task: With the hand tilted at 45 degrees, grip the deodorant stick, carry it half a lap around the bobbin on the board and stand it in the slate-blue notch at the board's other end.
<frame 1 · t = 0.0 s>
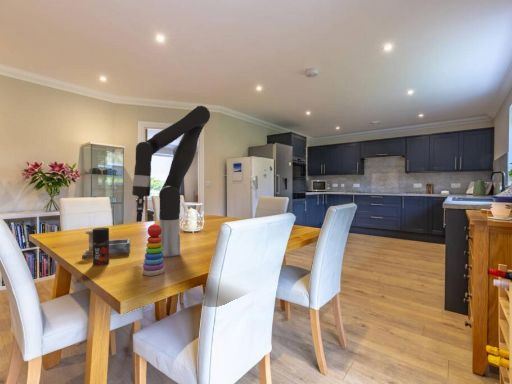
hand: (139, 220, 118), 17 cm above the table, tool pointing down, fingers open, 8 cm apart
stacking toy: (153, 273, 98), on the table
deodorant: (101, 264, 108), on the table
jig: (107, 253, 125), on the table
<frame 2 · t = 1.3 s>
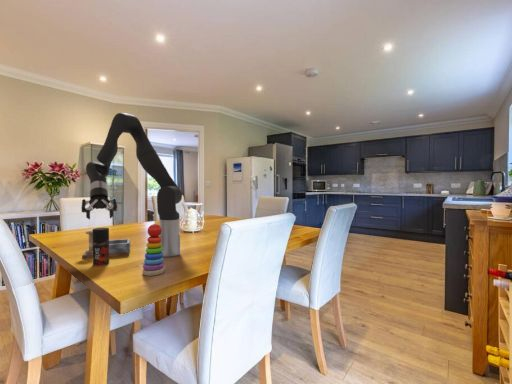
hand: (100, 217, 118), 18 cm above the table, tool tilted 45°, fingers open, 8 cm apart
nothing on the table moved.
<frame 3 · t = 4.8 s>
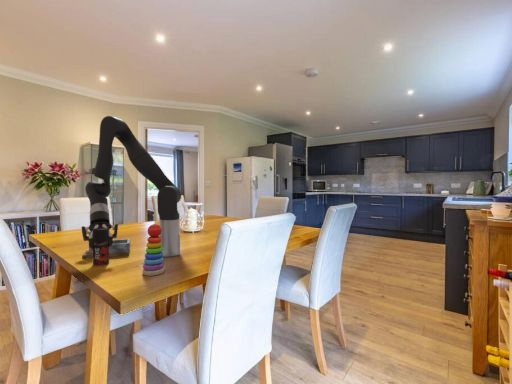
hand: (101, 246, 107), 8 cm above the table, tool tilted 45°, fingers closed on deodorant, 6 cm apart
deodorant: (101, 264, 108), on the table, touching gripper
everything else where it was.
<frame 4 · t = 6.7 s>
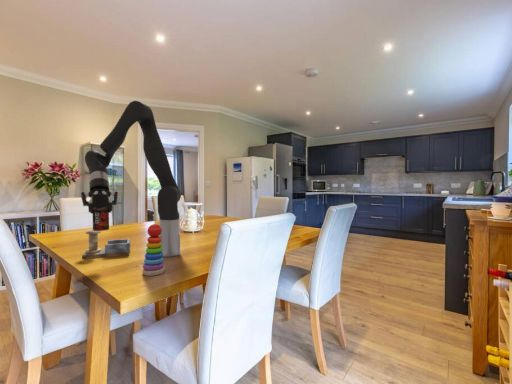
hand: (101, 211, 107), 22 cm above the table, tool tilted 45°, fingers closed on deodorant, 6 cm apart
deodorant: (101, 230, 108), point 14 cm above the table, touching gripper
everything else where it was.
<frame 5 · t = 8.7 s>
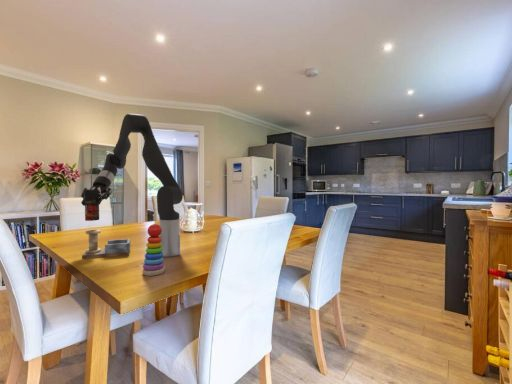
hand: (89, 204, 125), 24 cm above the table, tool tilted 45°, fingers closed on deodorant, 6 cm apart
deodorant: (92, 220, 127), point 16 cm above the table, touching gripper
everything else where it was.
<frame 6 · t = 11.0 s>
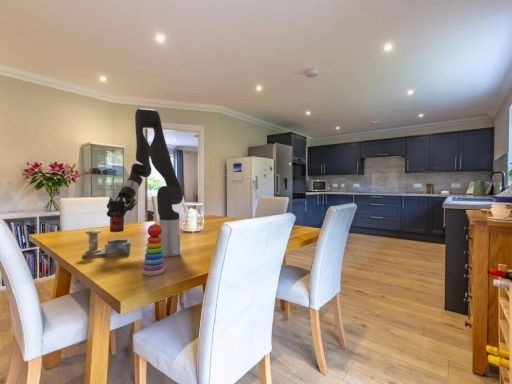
hand: (114, 215, 124), 19 cm above the table, tool tilted 45°, fingers closed on deodorant, 6 cm apart
deodorant: (116, 231, 126), point 11 cm above the table, touching gripper
everything else where it was.
when the fingers open (11 cm above the table, at t = 12.9 s): deodorant drops 1 cm, resting on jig.
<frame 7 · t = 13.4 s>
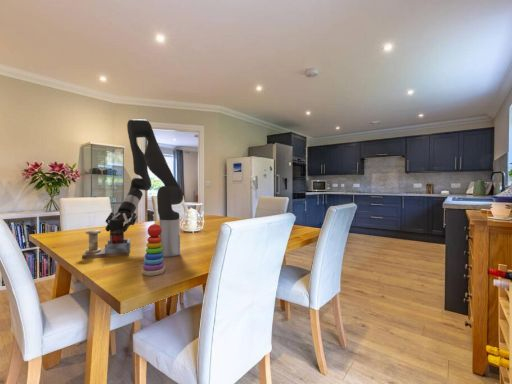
hand: (115, 230, 125), 11 cm above the table, tool tilted 45°, fingers open, 8 cm apart
deodorant: (117, 250, 126), point 1 cm above the table, touching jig
everything else where it was.
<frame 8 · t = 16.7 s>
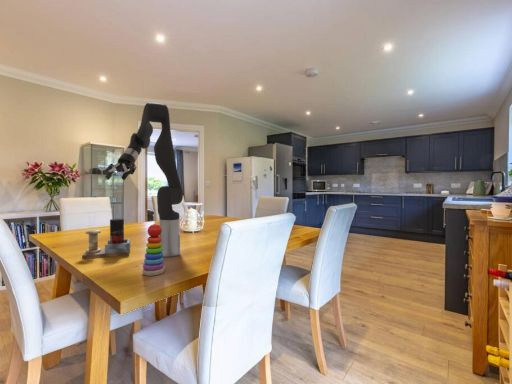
hand: (114, 178, 129), 37 cm above the table, tool tilted 45°, fingers open, 8 cm apart
nothing on the table moved.
at the end: deodorant inside the target area on the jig (0.3 cm from its centre), point 1.3 cm above the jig's base; deodorant tilted 0°; the gripper is holding nothing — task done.
